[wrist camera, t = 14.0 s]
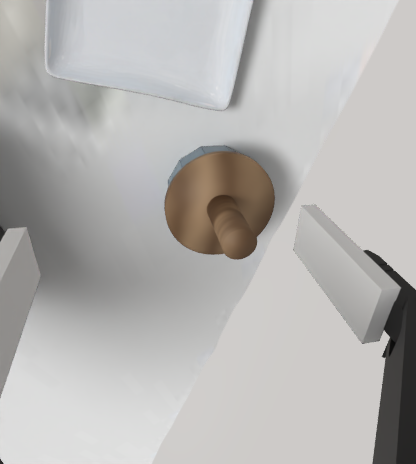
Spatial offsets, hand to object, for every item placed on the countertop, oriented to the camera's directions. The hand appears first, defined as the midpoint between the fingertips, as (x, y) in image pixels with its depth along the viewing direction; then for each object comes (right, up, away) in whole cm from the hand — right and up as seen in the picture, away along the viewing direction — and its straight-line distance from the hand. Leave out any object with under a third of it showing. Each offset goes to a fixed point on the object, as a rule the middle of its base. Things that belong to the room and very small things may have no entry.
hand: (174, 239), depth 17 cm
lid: (+3, +4, +30) cm, 31 cm away
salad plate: (-4, +27, +21) cm, 35 cm away
